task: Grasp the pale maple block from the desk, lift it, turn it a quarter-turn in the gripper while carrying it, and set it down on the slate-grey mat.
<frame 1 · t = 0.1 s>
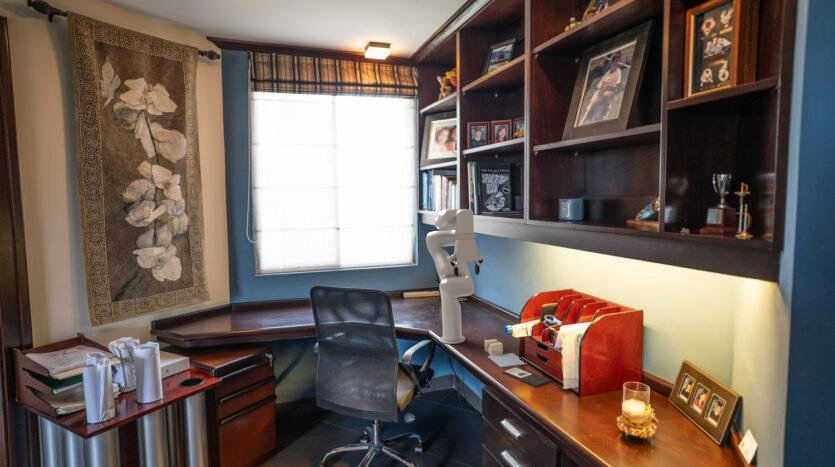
hand: (466, 275, 203), 37 cm above the table, tool pointing down, fingers open, 9 cm apart
maple block: (493, 352, 209), on the table
desk mat: (506, 360, 197), on the table
chocolate bar: (526, 378, 178), on the table
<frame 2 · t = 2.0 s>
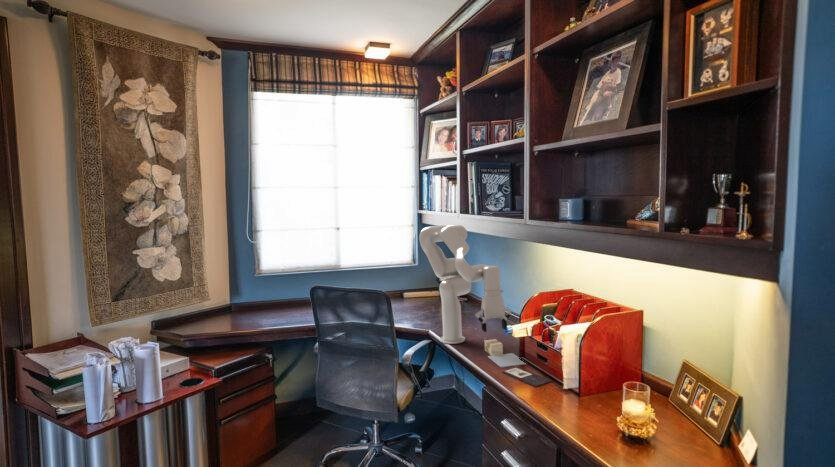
hand: (494, 330, 207), 11 cm above the table, tool pointing down, fingers open, 9 cm apart
nothing on the table moved.
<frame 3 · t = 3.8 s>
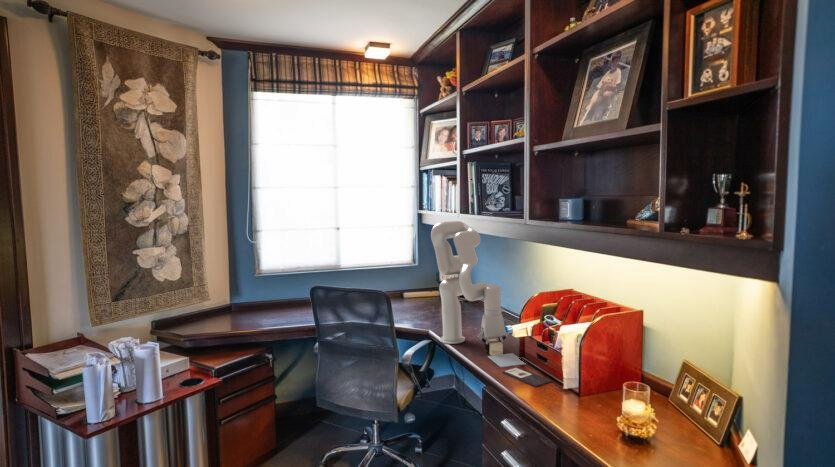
hand: (493, 350, 208), 1 cm above the table, tool pointing down, fingers closed on maple block, 5 cm apart
maple block: (493, 352, 208), on the table, touching gripper
everything else where it was.
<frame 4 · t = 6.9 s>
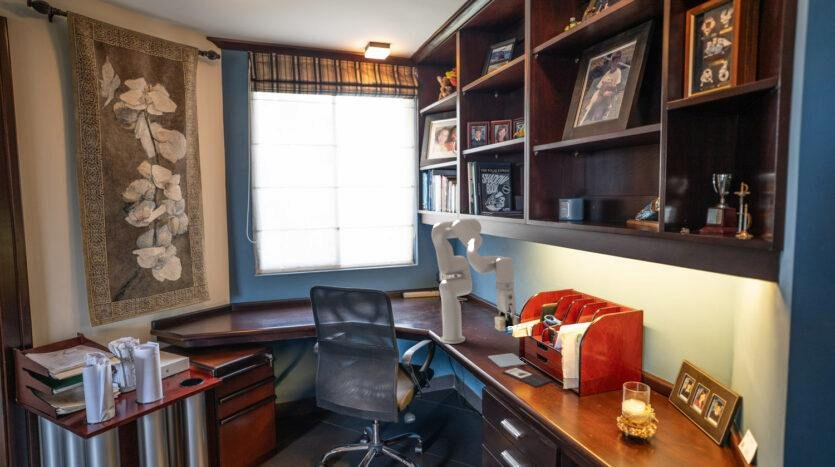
hand: (506, 327, 196), 15 cm above the table, tool pointing down, fingers closed on maple block, 5 cm apart
maple block: (506, 328, 196), point 14 cm above the table, touching gripper
everything else where it was.
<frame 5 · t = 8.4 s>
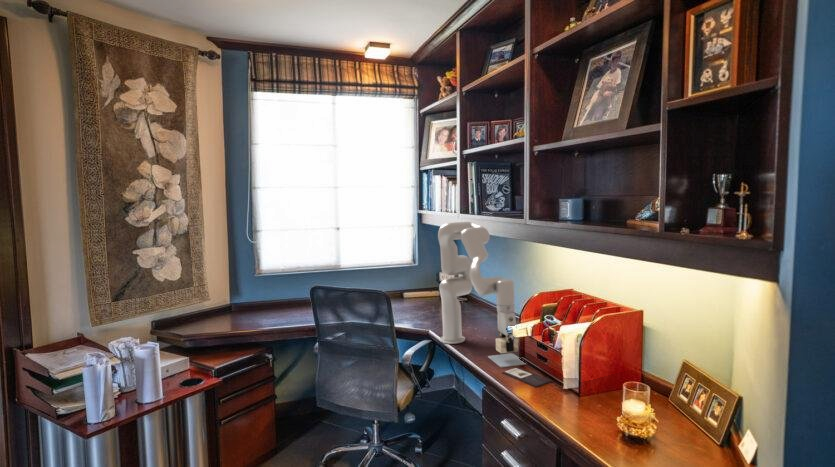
hand: (507, 348, 197), 5 cm above the table, tool pointing down, fingers closed on maple block, 5 cm apart
maple block: (507, 350, 197), point 4 cm above the table, touching gripper
everything else where it was.
when the fingers open (2 cm above the table, at t = 9.9 s): maple block stays where it is, resting on desk mat.
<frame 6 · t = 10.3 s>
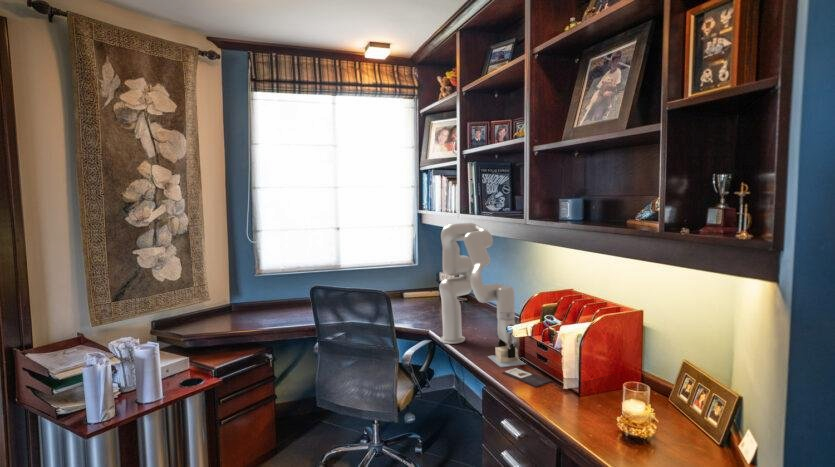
hand: (506, 354, 197), 3 cm above the table, tool pointing down, fingers open, 9 cm apart
maple block: (506, 359, 197), resting on desk mat
everything else where it was.
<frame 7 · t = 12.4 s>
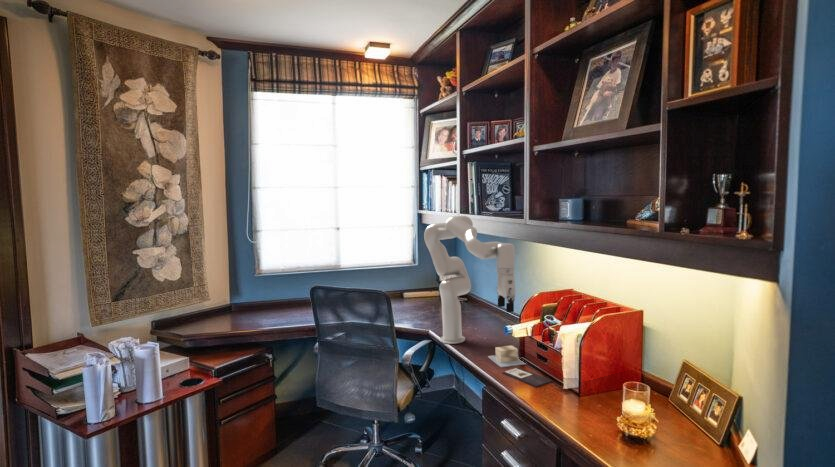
hand: (505, 309, 202), 21 cm above the table, tool pointing down, fingers open, 9 cm apart
nothing on the table moved.
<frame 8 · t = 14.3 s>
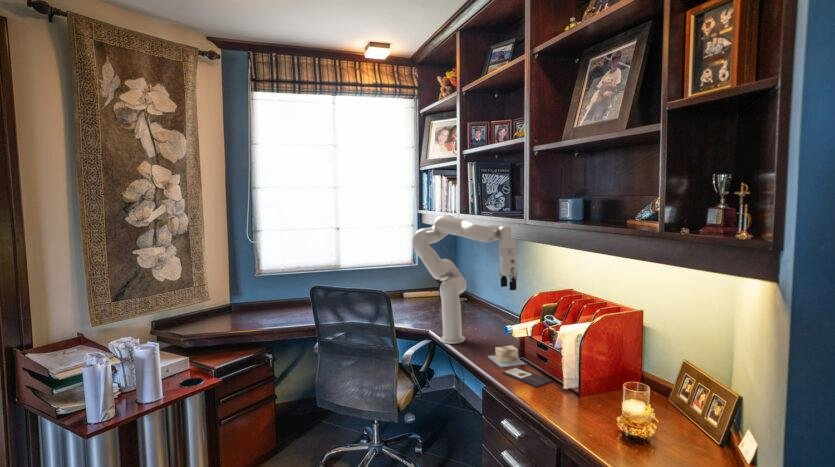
hand: (508, 288, 213), 28 cm above the table, tool pointing down, fingers open, 9 cm apart
nothing on the table moved.
at the end: maple block inside the target area on the desk mat (0.1 cm from its centre), point 0.4 cm above the desk mat's base; maple block tilted 0°; the gripper is holding nothing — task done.
